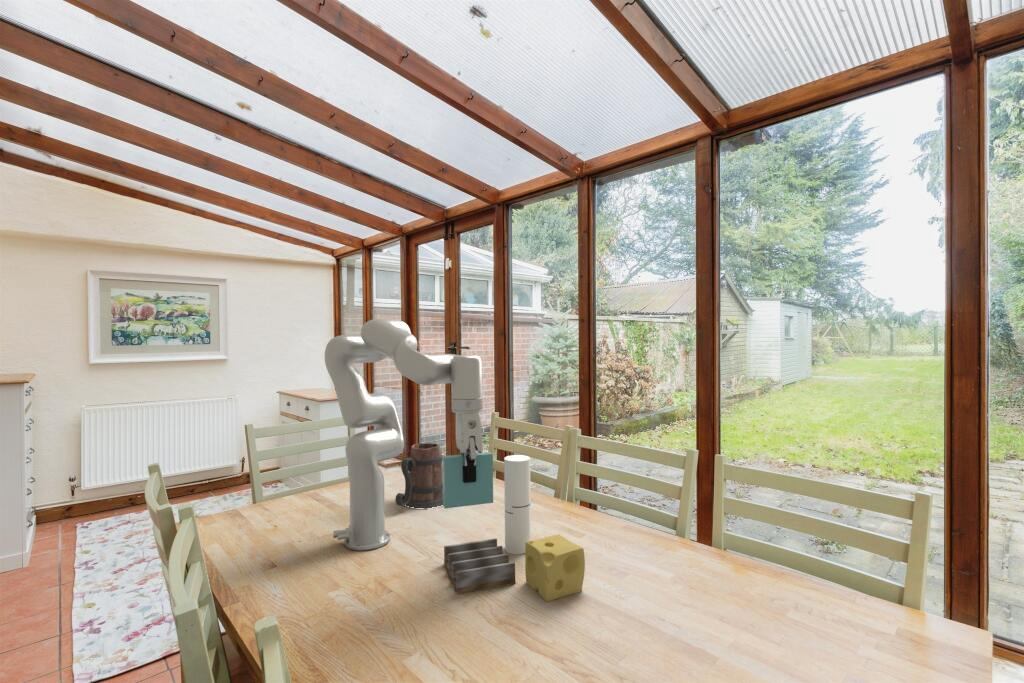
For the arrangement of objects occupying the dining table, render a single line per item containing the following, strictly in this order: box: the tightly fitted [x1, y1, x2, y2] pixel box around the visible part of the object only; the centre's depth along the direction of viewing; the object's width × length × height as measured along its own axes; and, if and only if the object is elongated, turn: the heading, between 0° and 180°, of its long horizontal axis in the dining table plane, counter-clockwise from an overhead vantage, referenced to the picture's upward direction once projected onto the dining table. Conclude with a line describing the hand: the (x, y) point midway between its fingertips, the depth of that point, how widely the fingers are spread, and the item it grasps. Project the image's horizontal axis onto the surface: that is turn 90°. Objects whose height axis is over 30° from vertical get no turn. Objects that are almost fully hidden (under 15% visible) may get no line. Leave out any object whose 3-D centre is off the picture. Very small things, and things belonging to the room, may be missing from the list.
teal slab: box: [442, 451, 494, 509], centre depth 119 cm, size 12×2×12 cm, turn 108°
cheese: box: [524, 534, 586, 603], centre depth 113 cm, size 10×11×10 cm
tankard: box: [394, 442, 443, 508], centre depth 171 cm, size 24×17×20 cm
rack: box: [443, 538, 517, 595], centre depth 120 cm, size 14×16×5 cm
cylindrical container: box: [503, 454, 532, 555], centre depth 134 cm, size 7×7×25 cm
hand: (468, 479), depth 119 cm, fingers closed on teal slab, 2 cm apart
